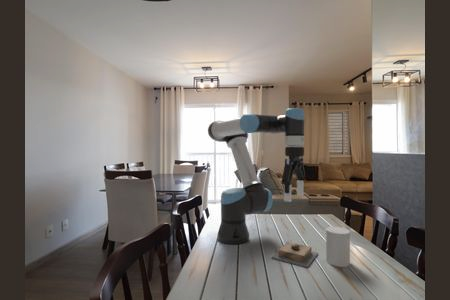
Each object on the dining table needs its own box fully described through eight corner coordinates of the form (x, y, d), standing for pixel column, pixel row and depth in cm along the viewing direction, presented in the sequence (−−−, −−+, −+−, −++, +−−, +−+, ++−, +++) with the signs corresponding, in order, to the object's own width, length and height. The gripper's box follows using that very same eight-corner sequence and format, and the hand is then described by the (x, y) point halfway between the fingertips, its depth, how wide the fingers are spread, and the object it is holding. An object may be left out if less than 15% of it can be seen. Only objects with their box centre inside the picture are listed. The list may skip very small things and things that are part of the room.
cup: (352, 267, 91) (352, 234, 91) (328, 265, 92) (328, 233, 92) (346, 258, 99) (346, 227, 99) (324, 256, 100) (324, 226, 100)
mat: (271, 258, 99) (271, 256, 99) (284, 246, 110) (284, 245, 110) (307, 267, 91) (307, 266, 91) (317, 254, 103) (317, 252, 103)
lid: (278, 256, 99) (278, 246, 99) (287, 247, 108) (287, 239, 108) (303, 262, 94) (303, 252, 94) (311, 253, 102) (311, 244, 102)
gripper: (291, 146, 91) (291, 205, 92) (313, 146, 111) (312, 194, 112) (272, 146, 96) (272, 202, 96) (296, 146, 116) (296, 192, 116)
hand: (294, 198), depth 104 cm, fingers open, 13 cm apart
